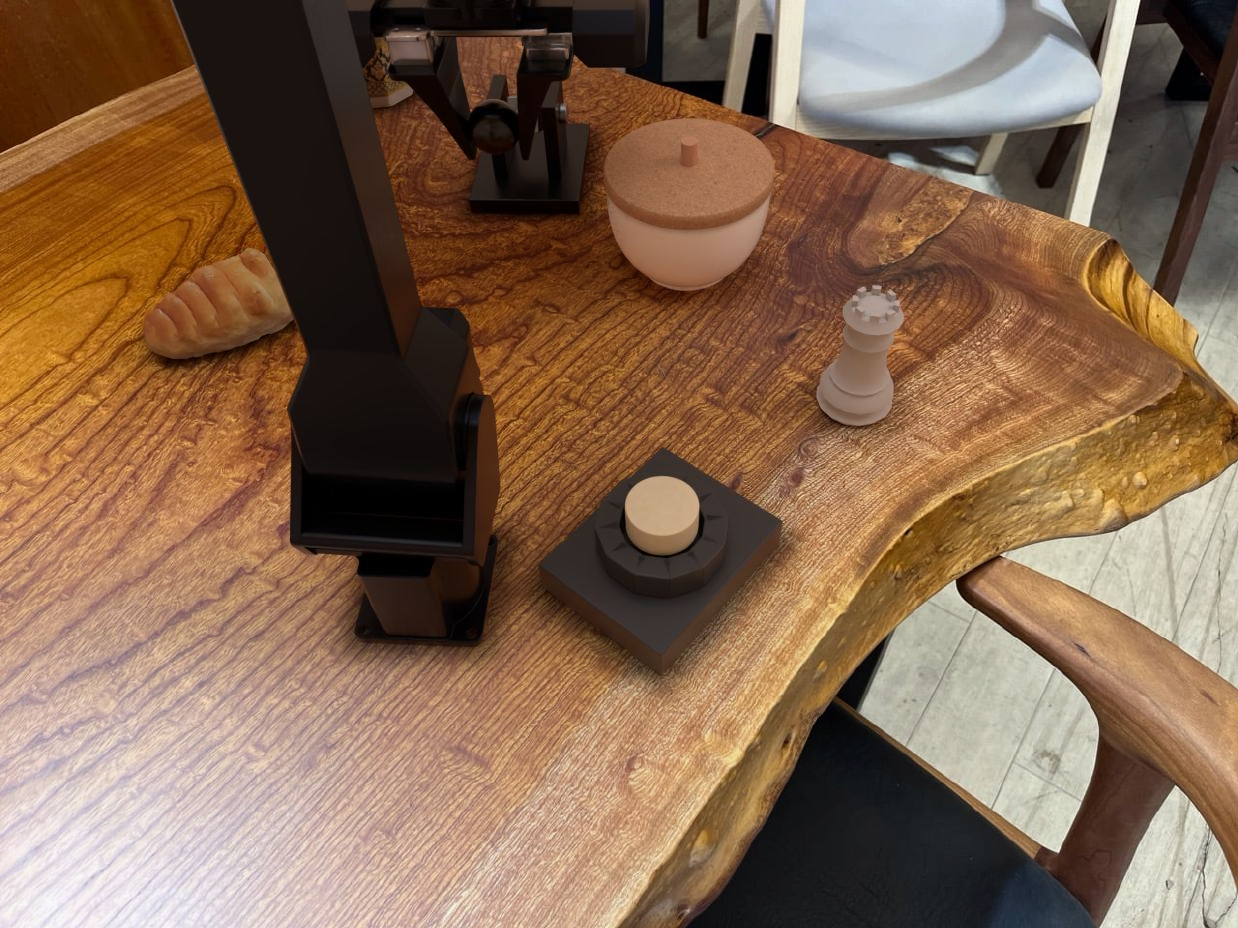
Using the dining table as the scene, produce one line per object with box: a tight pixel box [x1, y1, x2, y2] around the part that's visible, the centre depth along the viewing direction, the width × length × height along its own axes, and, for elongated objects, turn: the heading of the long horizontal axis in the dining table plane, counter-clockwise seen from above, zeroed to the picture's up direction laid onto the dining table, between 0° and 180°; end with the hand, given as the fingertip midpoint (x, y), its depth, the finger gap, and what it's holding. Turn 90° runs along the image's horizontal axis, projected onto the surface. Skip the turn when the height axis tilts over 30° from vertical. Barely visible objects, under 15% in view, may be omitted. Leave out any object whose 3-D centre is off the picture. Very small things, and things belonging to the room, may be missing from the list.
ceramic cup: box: [362, 37, 414, 109], centre depth 79 cm, size 13×10×10 cm
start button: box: [625, 476, 699, 556], centre depth 47 cm, size 4×4×2 cm
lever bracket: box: [468, 74, 591, 215], centre depth 71 cm, size 10×8×7 cm
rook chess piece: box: [816, 284, 905, 427], centre depth 54 cm, size 4×4×8 cm
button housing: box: [537, 446, 784, 676], centre depth 49 cm, size 10×8×4 cm
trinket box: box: [602, 117, 776, 292], centre depth 62 cm, size 11×11×9 cm
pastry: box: [142, 247, 294, 361], centre depth 62 cm, size 9×7×4 cm
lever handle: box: [468, 94, 543, 155], centre depth 64 cm, size 15×3×3 cm, turn 177°
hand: (500, 156), depth 60 cm, fingers closed on lever handle, 3 cm apart
